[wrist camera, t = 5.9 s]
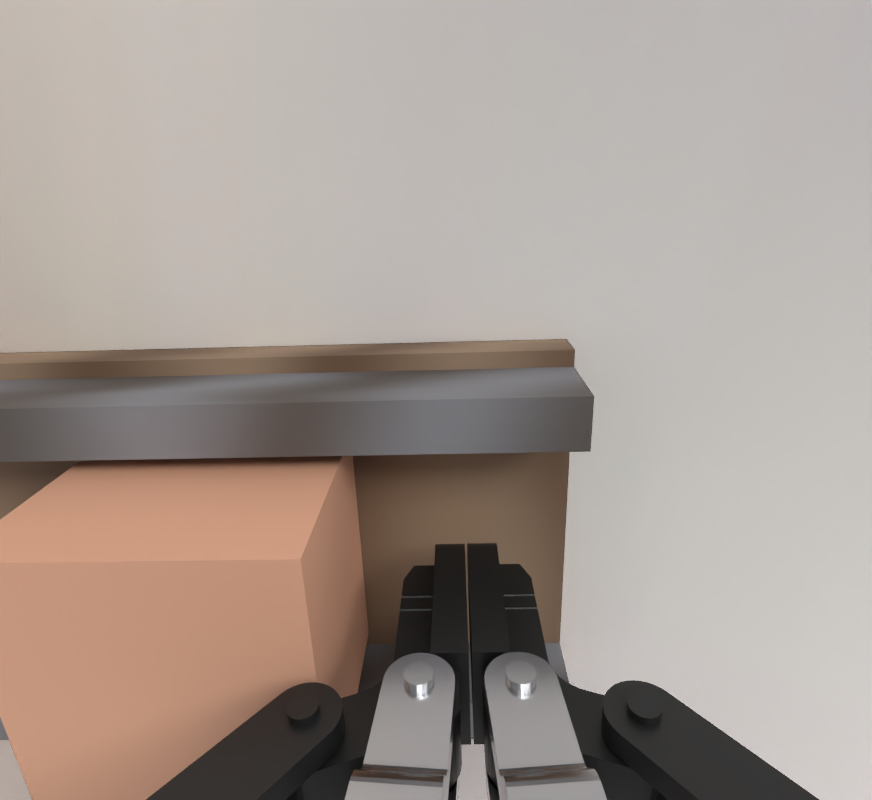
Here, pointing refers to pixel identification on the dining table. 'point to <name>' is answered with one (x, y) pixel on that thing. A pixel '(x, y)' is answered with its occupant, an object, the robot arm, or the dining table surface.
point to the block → (171, 611)
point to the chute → (336, 443)
